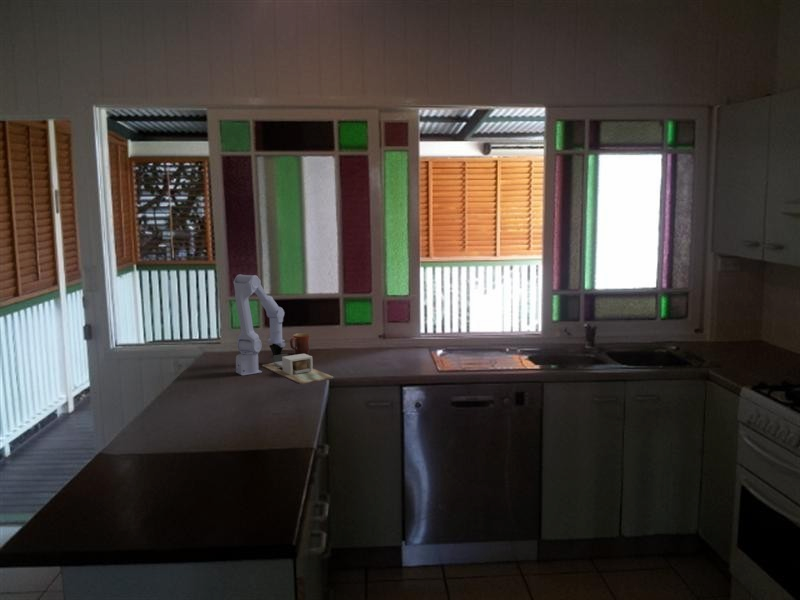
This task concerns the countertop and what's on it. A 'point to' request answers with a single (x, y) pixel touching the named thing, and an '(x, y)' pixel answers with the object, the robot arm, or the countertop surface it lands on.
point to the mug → (300, 343)
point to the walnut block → (299, 365)
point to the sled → (278, 361)
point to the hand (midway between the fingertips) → (276, 359)
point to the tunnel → (289, 359)
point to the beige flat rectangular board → (299, 374)
